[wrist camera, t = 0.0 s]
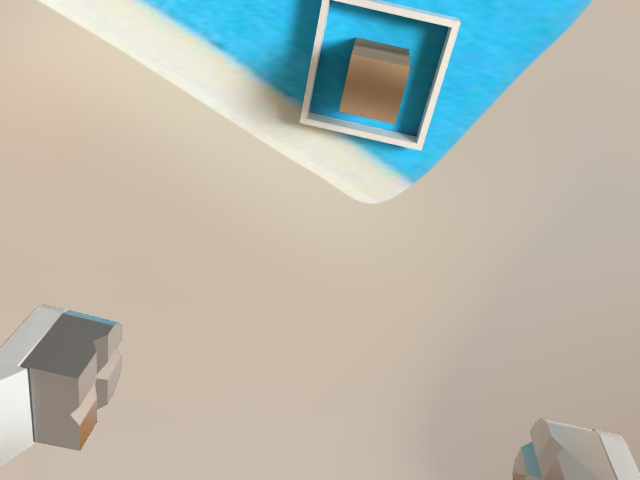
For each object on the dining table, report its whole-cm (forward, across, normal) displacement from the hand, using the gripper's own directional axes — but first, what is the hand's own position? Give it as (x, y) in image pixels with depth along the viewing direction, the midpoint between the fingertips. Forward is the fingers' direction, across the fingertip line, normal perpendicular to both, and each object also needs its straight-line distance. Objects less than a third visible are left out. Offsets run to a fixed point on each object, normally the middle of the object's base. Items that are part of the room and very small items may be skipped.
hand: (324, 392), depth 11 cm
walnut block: (+48, -1, +5) cm, 48 cm away
